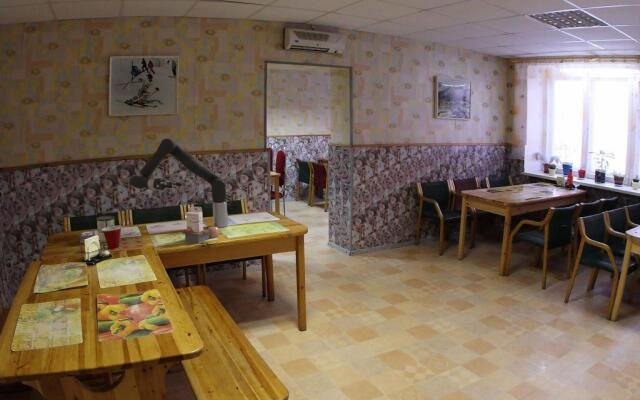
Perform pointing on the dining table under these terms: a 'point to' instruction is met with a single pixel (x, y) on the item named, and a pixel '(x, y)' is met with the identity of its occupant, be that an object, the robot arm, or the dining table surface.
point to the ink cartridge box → (194, 220)
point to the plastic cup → (112, 236)
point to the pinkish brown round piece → (213, 232)
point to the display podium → (197, 236)
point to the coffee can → (104, 225)
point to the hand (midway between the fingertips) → (176, 185)
